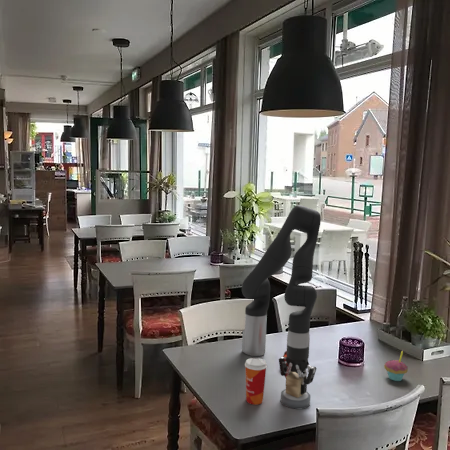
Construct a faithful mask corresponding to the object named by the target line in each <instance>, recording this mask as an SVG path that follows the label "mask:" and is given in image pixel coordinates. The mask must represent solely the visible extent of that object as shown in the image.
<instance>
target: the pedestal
mask: <svg viewBox="0 0 450 450" xmlns="http://www.w3.org/2000/svg"><path fill="white" fill-rule="evenodd" d="M280 404H282V405H283V406H284V407H287V408H289V407H290V408H289V409H294V408H302V409H306V408H308V407H309V406H310V404H311V394H310V393H309V392H308V390H307V391H306V393H305V394H303V395H302V396H300V397H299V398H297V397H295V396H292V395H289V394H287V393H286V388H284V389H283V390H281V392H280ZM305 407H306V408H305Z"/></svg>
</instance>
